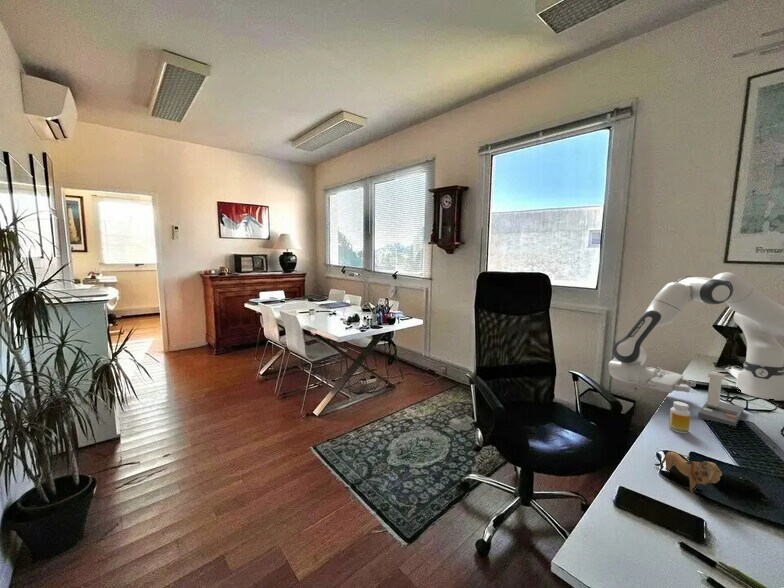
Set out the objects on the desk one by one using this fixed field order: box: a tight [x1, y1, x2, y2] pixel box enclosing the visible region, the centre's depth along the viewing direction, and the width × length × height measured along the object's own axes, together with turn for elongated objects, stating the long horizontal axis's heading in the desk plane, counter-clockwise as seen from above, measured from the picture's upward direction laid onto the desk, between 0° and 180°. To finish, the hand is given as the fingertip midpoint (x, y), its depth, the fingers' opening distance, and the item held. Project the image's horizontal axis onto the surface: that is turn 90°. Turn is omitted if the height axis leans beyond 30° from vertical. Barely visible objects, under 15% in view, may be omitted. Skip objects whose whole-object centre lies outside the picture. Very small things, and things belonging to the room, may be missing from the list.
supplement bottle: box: [668, 400, 691, 434], centre depth 116 cm, size 5×5×10 cm
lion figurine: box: [654, 451, 723, 494], centre depth 89 cm, size 15×5×9 cm, turn 19°
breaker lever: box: [706, 371, 725, 409], centre depth 129 cm, size 4×4×13 cm
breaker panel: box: [697, 401, 745, 427], centre depth 128 cm, size 20×10×2 cm, turn 127°
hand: (692, 387), depth 134 cm, fingers open, 8 cm apart
